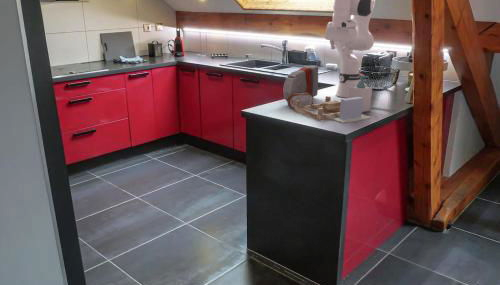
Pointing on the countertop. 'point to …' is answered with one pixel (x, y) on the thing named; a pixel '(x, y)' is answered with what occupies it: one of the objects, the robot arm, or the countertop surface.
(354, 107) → the lavender grey box
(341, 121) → the mat
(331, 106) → the offcut upper
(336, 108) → the offcut lower
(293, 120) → the countertop surface
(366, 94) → the soap bottle
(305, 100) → the tin
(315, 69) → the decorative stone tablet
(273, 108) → the countertop surface
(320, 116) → the rack
